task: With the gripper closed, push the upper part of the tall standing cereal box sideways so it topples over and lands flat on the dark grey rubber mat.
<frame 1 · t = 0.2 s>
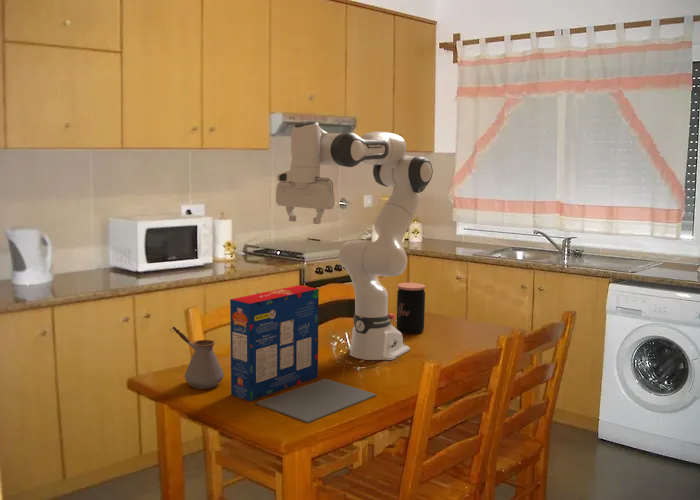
hand: (304, 222, 216), 48 cm above the table, tool pointing down, fingers open, 8 cm apart
bread roll: (264, 367, 231), on the table
cereal box: (276, 386, 213), on the table
coffee jar: (410, 331, 278), on the table
coffee pot: (194, 381, 216), on the table
mat: (317, 399, 202), on the table
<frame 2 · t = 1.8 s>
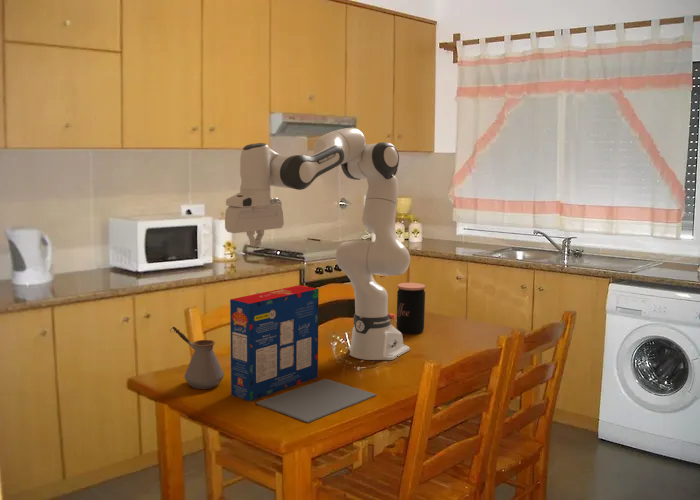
hand: (255, 245, 213), 41 cm above the table, tool pointing down, fingers closed
nothing on the table moved.
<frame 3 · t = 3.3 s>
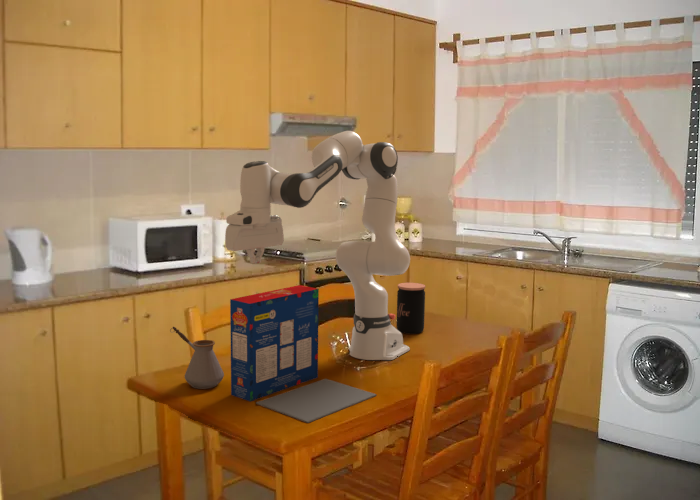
hand: (255, 263, 214), 36 cm above the table, tool pointing down, fingers closed
nothing on the table moved.
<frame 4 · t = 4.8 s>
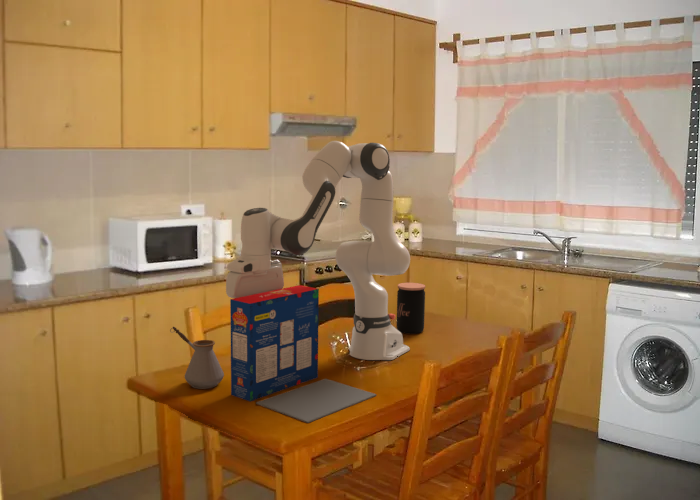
hand: (256, 308, 216), 22 cm above the table, tool pointing down, fingers closed
nothing on the table moved.
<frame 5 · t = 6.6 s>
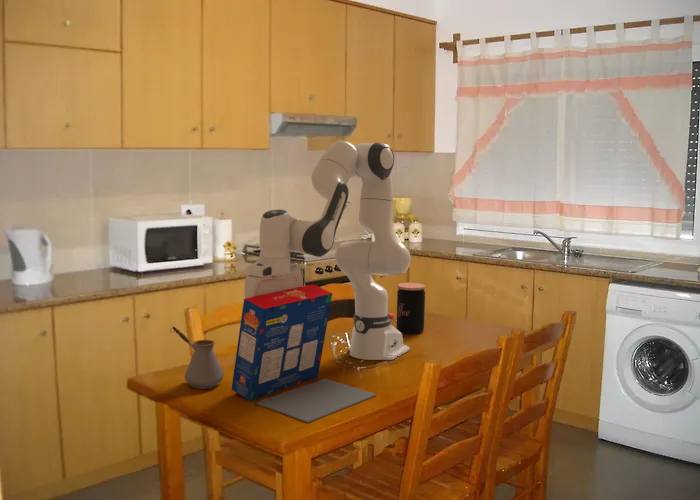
hand: (274, 312, 210), 22 cm above the table, tool pointing down, fingers closed
cereal box: (276, 383, 213), point 1 cm above the table, touching gripper
everything else where it was.
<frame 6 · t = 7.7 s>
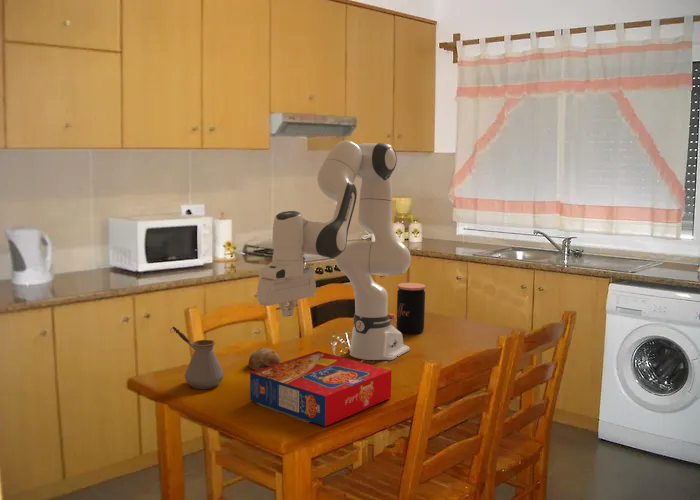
hand: (287, 315, 207), 22 cm above the table, tool pointing down, fingers closed
cereal box: (285, 374, 210), point 4 cm above the table, touching mat
everything else where it was.
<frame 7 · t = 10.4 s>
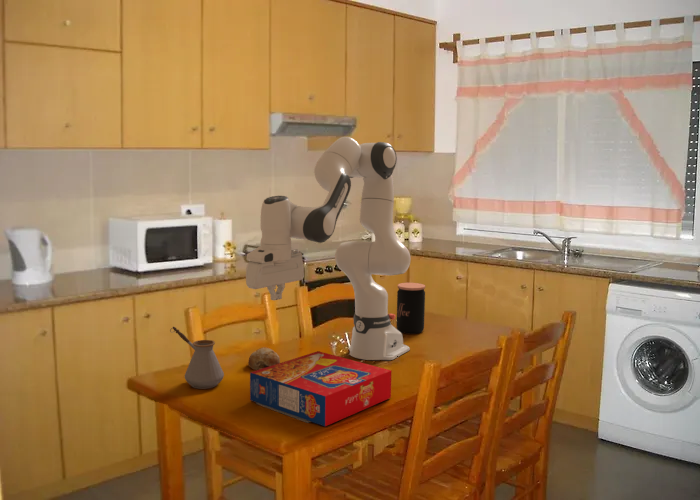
hand: (276, 299, 209), 26 cm above the table, tool pointing down, fingers closed
nothing on the table moved.
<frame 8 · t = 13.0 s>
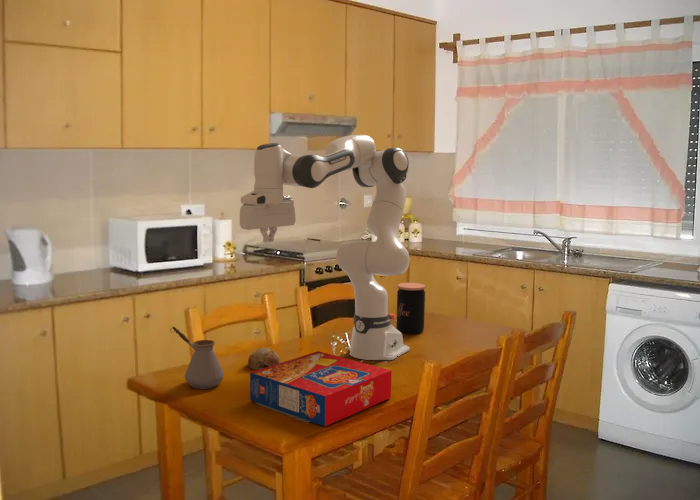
hand: (268, 242, 221), 41 cm above the table, tool pointing down, fingers closed
at the end: cereal box tilted 90°; cereal box inside the target area (5.2 cm from its centre), point 4.4 cm above the table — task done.
